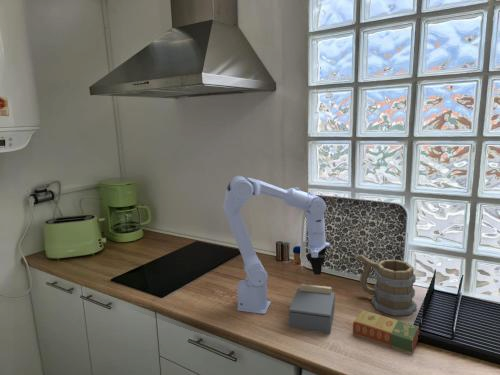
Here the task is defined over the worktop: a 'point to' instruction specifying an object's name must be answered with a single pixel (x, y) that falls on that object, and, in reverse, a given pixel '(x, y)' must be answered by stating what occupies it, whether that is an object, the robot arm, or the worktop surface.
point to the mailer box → (311, 321)
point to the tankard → (390, 285)
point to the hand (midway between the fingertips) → (319, 269)
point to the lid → (313, 300)
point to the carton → (386, 331)
